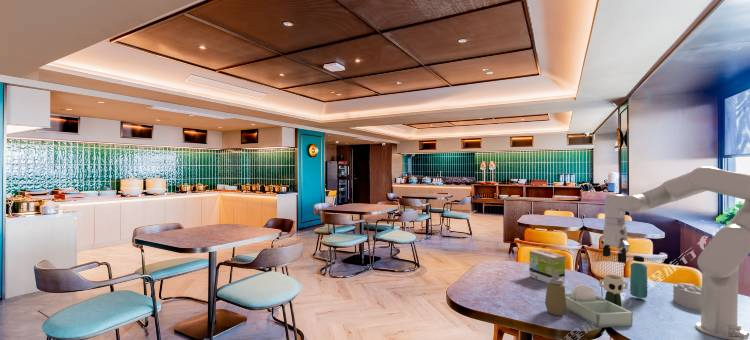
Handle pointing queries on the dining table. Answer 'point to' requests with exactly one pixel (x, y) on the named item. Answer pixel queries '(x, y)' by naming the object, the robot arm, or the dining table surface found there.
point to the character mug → (613, 288)
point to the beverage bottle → (638, 278)
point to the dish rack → (599, 312)
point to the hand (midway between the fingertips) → (613, 259)
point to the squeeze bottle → (555, 295)
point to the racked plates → (583, 293)
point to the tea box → (546, 265)
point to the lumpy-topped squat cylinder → (687, 295)
